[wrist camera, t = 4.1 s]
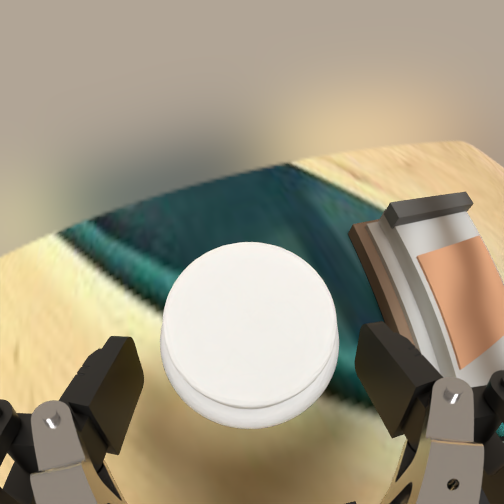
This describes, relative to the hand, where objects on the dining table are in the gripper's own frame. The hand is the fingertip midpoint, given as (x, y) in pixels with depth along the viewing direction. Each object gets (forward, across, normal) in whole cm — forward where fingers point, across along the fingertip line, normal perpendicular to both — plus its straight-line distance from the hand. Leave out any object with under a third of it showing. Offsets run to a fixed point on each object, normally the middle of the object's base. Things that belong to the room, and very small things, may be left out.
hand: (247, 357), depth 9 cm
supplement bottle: (+5, 0, +4) cm, 7 cm away
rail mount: (+6, -15, +3) cm, 16 cm away
